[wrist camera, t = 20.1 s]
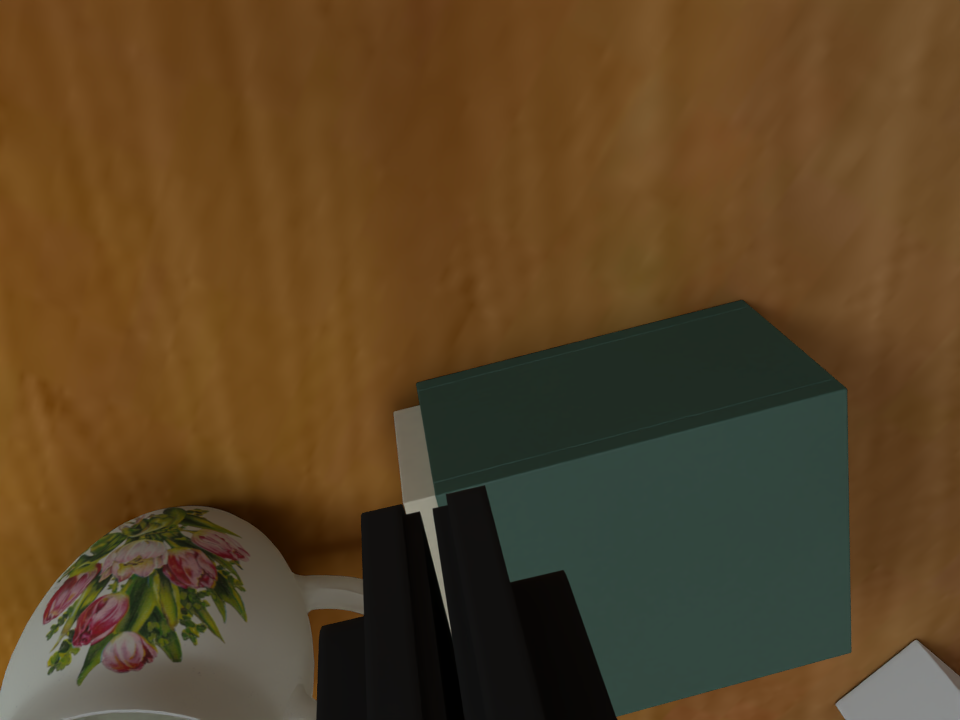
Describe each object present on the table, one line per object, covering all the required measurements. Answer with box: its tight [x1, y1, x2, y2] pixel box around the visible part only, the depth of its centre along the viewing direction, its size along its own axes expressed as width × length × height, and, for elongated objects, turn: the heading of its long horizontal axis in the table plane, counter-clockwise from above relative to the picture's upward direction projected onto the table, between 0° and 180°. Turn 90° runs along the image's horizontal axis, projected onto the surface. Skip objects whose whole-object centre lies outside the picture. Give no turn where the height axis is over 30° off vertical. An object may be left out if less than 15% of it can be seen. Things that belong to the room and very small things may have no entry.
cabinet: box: [416, 300, 851, 717], centre depth 36 cm, size 15×13×9 cm
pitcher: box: [0, 506, 364, 720], centre depth 33 cm, size 11×18×14 cm, turn 94°
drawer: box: [394, 405, 451, 631], centre depth 35 cm, size 15×11×7 cm
